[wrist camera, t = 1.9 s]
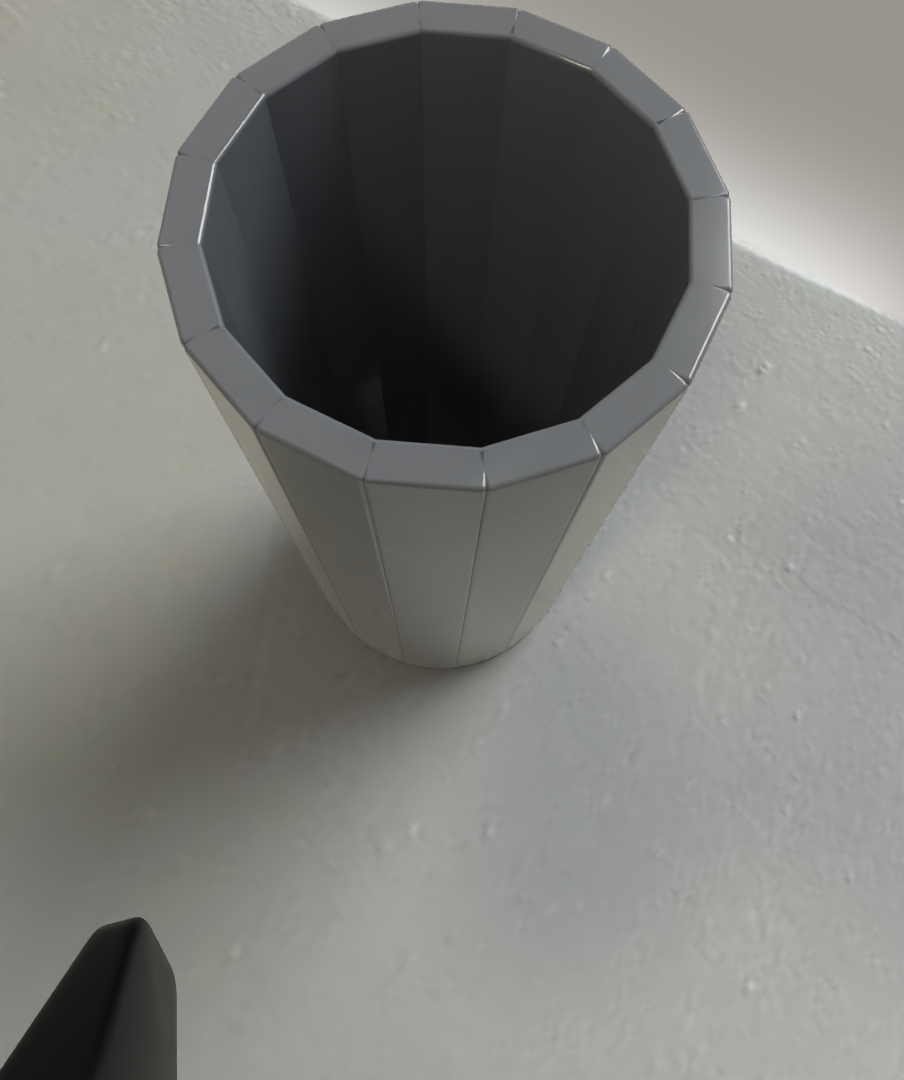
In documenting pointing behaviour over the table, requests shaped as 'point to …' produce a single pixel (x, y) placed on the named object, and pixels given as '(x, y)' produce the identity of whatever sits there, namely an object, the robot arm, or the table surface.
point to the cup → (445, 304)
